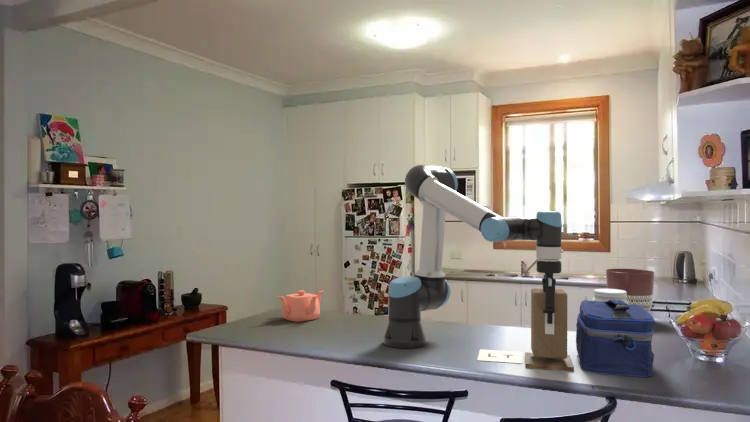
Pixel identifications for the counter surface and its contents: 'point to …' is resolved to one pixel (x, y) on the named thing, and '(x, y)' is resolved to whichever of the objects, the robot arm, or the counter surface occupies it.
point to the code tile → (500, 356)
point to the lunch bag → (615, 338)
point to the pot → (301, 306)
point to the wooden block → (540, 341)
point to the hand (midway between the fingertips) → (548, 330)
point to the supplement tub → (610, 295)
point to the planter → (633, 285)
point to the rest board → (548, 363)
